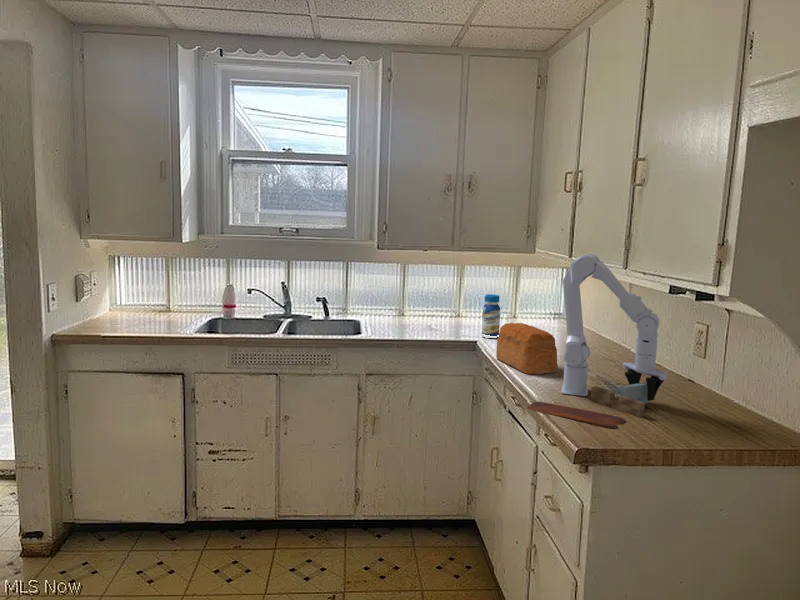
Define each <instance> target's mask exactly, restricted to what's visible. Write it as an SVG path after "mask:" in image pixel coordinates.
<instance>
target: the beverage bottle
mask: <svg viewBox="0 0 800 600" xmlns="http://www.w3.org/2000/svg"><path fill="white" fill-rule="evenodd" d="M484 303H485V304H484V305H483V308H482V311H483V312H482V315H481V316H482V318H481V319H482V320H481V335H482V334H485V335H490V336H497V335H499V333H500V328H501V325H500V323H501V307H500V304H499V303H500V295H499V294H490V293H488V294H484Z"/></svg>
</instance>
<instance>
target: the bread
mask: <svg viewBox="0 0 800 600" xmlns="http://www.w3.org/2000/svg"><path fill="white" fill-rule="evenodd" d="M495 351H496V352H495V353H496V359H497V360H499V361H501V362H503V363H504V364H506V365H509V366H510V365H511V366H510V367H513V368H514V369H516V370H518V371H520V372H522V373H523V372H524V373H523V374H526V373H527V375H545V374H544V373H550V374H554V372H555V373H556V372H557V369H558V365H559V364H558V349H557V346H556V338H555V337H554V336H553V334H552V333H550V332H548V331H546V330H544V329H540V328H537V327H535V326H534V325H529V324H526V323H521V322H516V323H513V322H511V323H504V324H503V325H501V326H500V328H499V337H498V338H497V339H496V350H495Z"/></svg>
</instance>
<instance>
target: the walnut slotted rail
mask: <svg viewBox="0 0 800 600" xmlns="http://www.w3.org/2000/svg"><path fill="white" fill-rule="evenodd" d="M615 396H616V392H615V391H611V390H610V389H609V390H608V389H606V388H603V387H600V386H597V385H595V386H591V392H590V400H592V401H594V402H597V403H600V404H603V405H605V406H607V407H611V408H612V409H615V410H619V411H621V412H624V413H626V414H629V415H632V416H635V417H637V418H641V417H642V418H643V417H644V416H645V406H646V404H645V402H642V401H639V400H636V399H633V398H630V397H627V396H620V395H619V396H618V399H616V397H615Z"/></svg>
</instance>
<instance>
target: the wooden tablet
mask: <svg viewBox="0 0 800 600" xmlns="http://www.w3.org/2000/svg"><path fill="white" fill-rule="evenodd" d="M526 409H528V410H530V411H534V412H537V413H543V414H546V415H551V416H555V417H561V418H564V417H565V419H569V418H570V420H573V419H574V421H576V422H577V421H578V422H581V421H582V422H581V423H585V422H586V424H589V423H591V424H590V425H593V424H595V425H594V426H597V425H599V426H598V427H602V426H603V427H604V428H606V427H607V429H612V428H613V429H614V430H615V429H617V428H618V426H620V425H623V424H624V423H626V419H625V418H623V417H620V416H616V415H611V414H606V413H603V412H602V413H601V412H597V411H592V410H588V409H582V408H577V407H572V406H567V405H562V404H561V405H560V404H555V403H549V402H545V401H534V402H532V403H531V404H529V405H527V407H526ZM613 429H612V430H613Z"/></svg>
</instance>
